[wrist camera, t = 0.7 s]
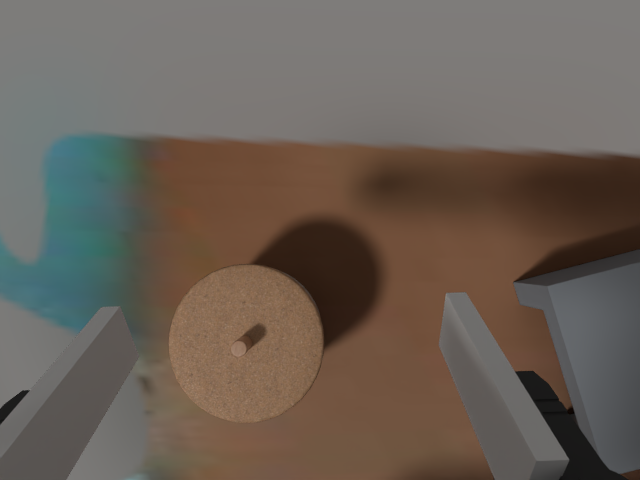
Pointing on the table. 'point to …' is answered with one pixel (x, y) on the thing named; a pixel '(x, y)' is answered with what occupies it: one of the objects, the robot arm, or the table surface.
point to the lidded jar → (246, 343)
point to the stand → (597, 348)
